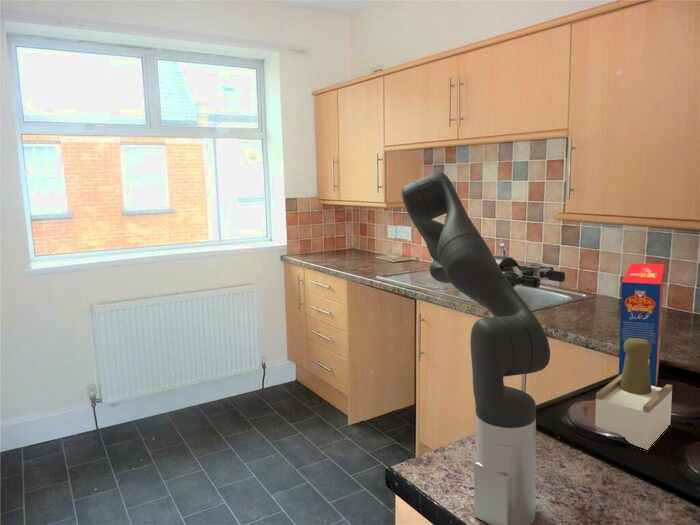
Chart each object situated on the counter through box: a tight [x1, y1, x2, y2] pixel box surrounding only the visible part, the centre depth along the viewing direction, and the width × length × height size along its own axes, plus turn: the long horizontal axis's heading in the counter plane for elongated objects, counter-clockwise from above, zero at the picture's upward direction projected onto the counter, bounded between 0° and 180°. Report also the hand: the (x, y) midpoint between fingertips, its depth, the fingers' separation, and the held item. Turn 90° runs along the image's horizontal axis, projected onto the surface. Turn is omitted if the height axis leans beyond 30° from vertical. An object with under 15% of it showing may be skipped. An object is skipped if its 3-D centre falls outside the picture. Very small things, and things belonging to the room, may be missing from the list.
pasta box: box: [618, 262, 665, 387], centre depth 134 cm, size 28×8×28 cm, turn 147°
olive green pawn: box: [620, 338, 652, 394], centre depth 109 cm, size 6×6×11 cm
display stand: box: [594, 374, 673, 451], centre depth 107 cm, size 14×10×9 cm
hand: (551, 279), depth 110 cm, fingers open, 8 cm apart
